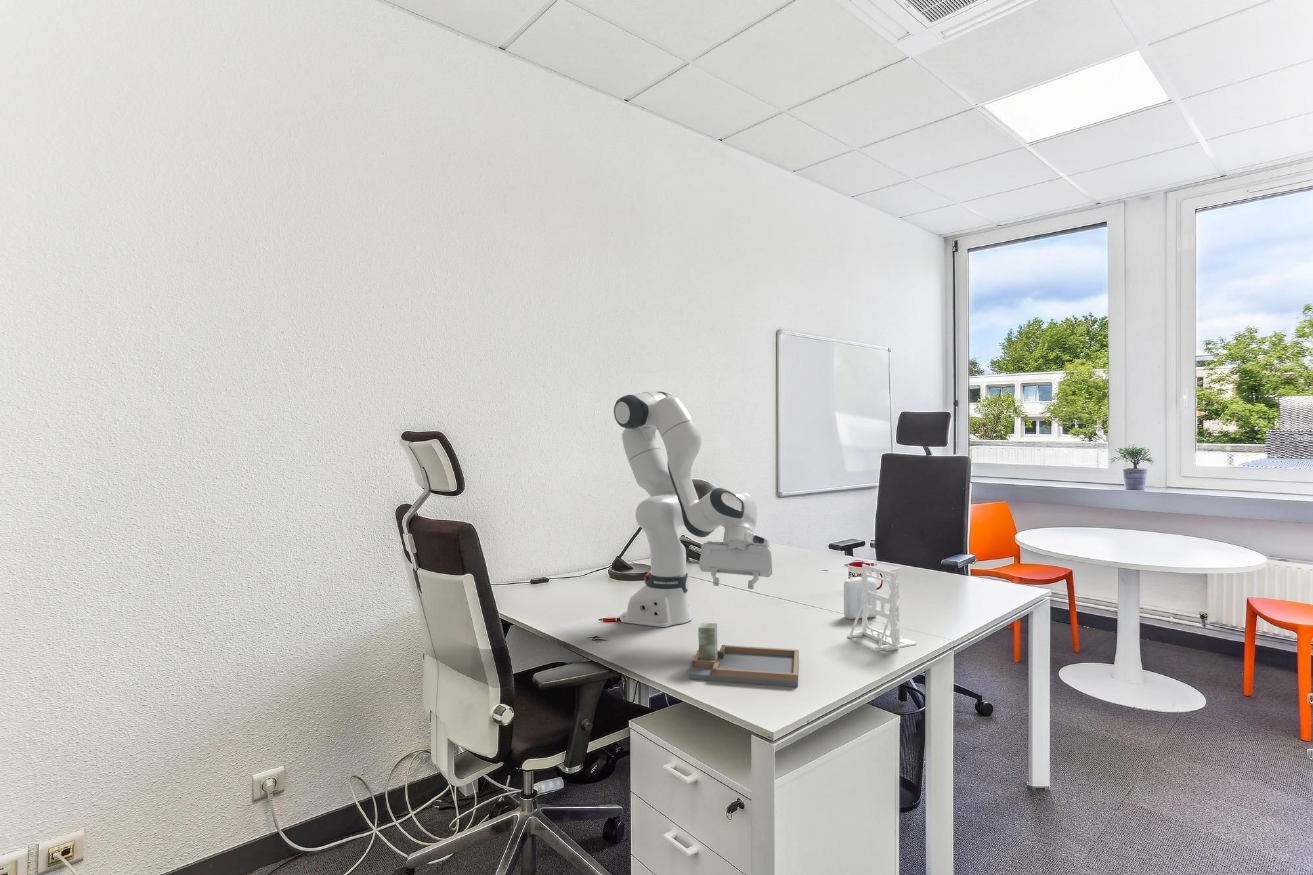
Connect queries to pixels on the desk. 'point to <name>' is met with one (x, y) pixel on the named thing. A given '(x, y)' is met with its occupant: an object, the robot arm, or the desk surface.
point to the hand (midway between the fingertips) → (733, 586)
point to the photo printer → (857, 596)
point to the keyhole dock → (749, 666)
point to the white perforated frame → (881, 612)
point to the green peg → (708, 641)
